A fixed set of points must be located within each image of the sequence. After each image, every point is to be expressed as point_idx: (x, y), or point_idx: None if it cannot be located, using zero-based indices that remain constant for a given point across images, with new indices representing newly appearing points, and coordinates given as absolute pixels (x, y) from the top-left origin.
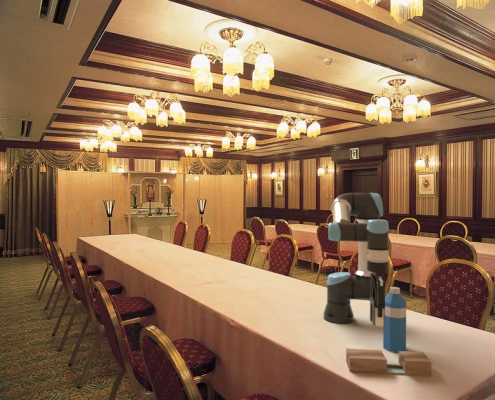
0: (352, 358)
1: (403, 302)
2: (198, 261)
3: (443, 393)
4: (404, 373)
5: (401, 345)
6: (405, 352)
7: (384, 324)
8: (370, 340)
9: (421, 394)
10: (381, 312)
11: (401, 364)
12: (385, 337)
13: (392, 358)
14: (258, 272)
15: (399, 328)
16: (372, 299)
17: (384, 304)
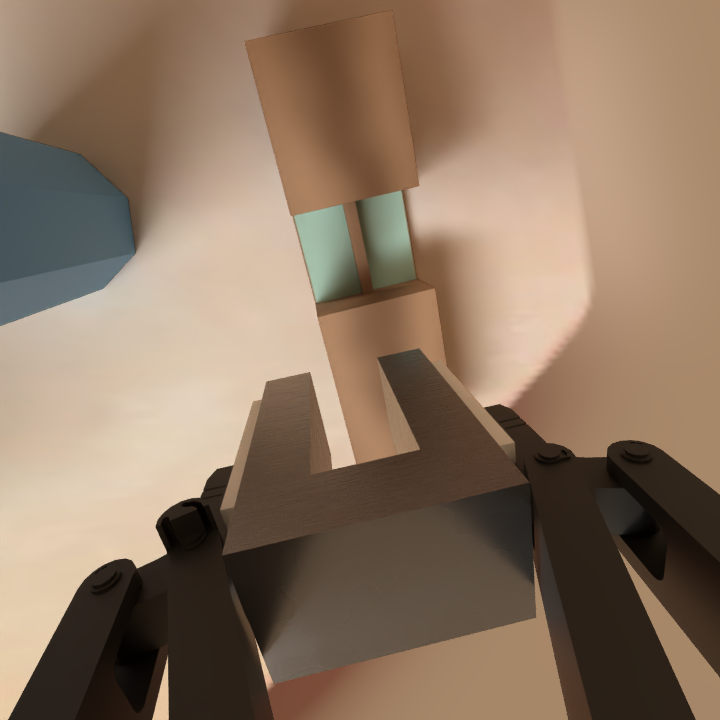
0: None
1: None
2: None
3: (539, 22)
4: (402, 194)
5: (93, 181)
6: (297, 173)
7: (422, 354)
8: (20, 358)
9: (563, 137)
10: (533, 438)
11: (343, 204)
12: (78, 288)
13: (229, 243)
14: None
15: (39, 190)
16: (452, 636)
17: (687, 476)
